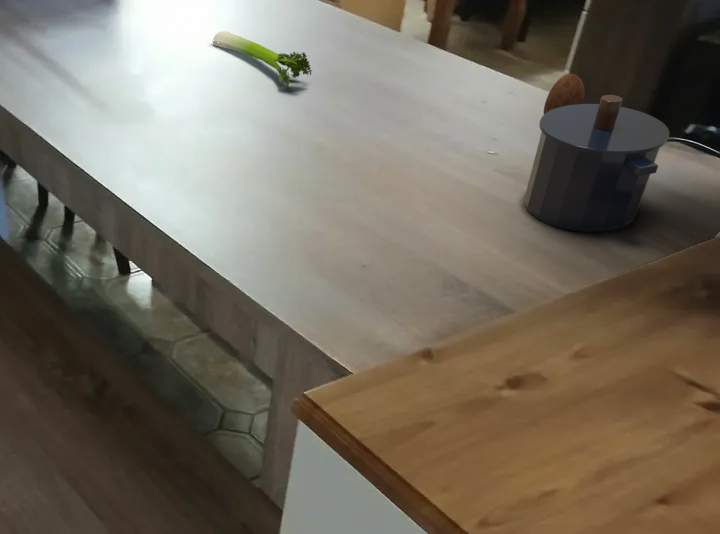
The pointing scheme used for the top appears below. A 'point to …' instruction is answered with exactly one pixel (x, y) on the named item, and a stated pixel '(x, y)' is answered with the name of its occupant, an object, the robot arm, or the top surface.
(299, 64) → the celery stalk
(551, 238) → the top surface
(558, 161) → the pot
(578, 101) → the coconut
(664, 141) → the lid
